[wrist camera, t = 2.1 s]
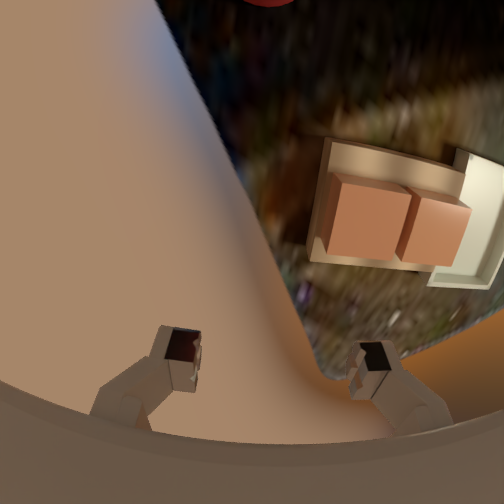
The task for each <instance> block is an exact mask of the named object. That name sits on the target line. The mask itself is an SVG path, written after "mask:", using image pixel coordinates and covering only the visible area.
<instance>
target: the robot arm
mask: <svg viewBox="0 0 504 504" xmlns="http://www.w3.org/2000/svg"><path fill="white" fill-rule="evenodd" d="M200 342H201V331H198V330H191V329H185V328H178V327H170V326H164V325H161V326H160V327H159V329H158V332H157V335H156V338H155V341H154V343H153V346H152V349H151V352H150V355H149V357H147V356H145V357H143V358H142V359H140V360H139V361H138V362H136V363H135V364H133V365H132V366H131V367H129V368H128V369H126V370H125V371H124V372H122V373H121V374H119V375H118V376H116V377H115V378H114V379H112V380H111V381H109V382H108V383H106V384H105V385H103V386H102V387H101V388H100V389H99V392H98V394H97V396H96V399H95V401H94V404H93V407H92V409H91V411H90V414H89V415H87V414H84V413H80V412H78V411H74V410H72V409H69V408H65V407H63V406H60V405H57V404H54V403H52V402H49V401H46V400H44V399H41V398H39V397H36V396H34V395H31V394H29V393H27V392H24V391H22V390H19V389H17V388H15V387H13V386H11V385H8V384H7V383H4V382H2V381H0V504H504V409H503V410H500V411H497V412H494V413H491V414H488V415H485V416H482V417H478V418H476V419H472V420H468V421H465V422H461V423H457V424H454V423H453V420H452V418H451V415H450V413H449V410H448V408H447V405H446V403H445V401H444V400H443V399H441V398H440V397H439V396H438V395H437V394H435V393H434V392H433V391H432V390H430V389H429V388H428V387H427V386H426V385H424V384H423V383H422V382H421V381H419V380H418V379H417V378H416V377H415V376H414V375H412V374H411V373H410V372H409V371H407V370H404V369H403V367H402V364H401V362H400V359H399V357H398V355H397V352H396V350H395V347H394V345H393V343H392V342H391V341H390V340H386V341H356V342H355V343H354V344H353V346H352V350H353V352H352V353H351V354H349V355H348V357H347V360H346V365H345V373H346V378H347V379H348V380H350V381H351V383H350V385H349V390H350V395H351V399H352V400H361V399H371V401H372V402H373V403H374V405H375V406H376V407H377V408H378V409H379V410H380V411H381V413H382V414H383V415H384V416H385V417H386V418H387V420H389V422H390V423H391V424H392V425H393V427H394V428H395V429H396V430H395V432H394V433H393V434H392V435H391V436H390V437H389V438H382V439H374V440H365V441H356V442H344V443H331V444H296V445H295V444H294V445H284V444H252V443H237V442H225V441H214V440H206V439H197V438H191V437H183V436H177V435H171V434H166V433H160V432H155V431H152V429H151V426H150V423H149V420H148V417H147V416H148V415H149V414H151V413H152V412H153V411H154V410H155V409H156V408H157V407H158V406H159V405H160V404H161V403H162V401H164V400H165V399H166V398H167V397H168V395H170V394H171V393H172V392H173V390H175V391H182V392H191V393H195V391H196V386H197V380H198V372H197V371H198V370H199V369H200V363H201V351H202V346H201V345H200Z"/></svg>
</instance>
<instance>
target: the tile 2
mask: <svg viewBox="0 0 504 504" xmlns="http://www.w3.org/2000/svg"><path fill="white" fill-rule="evenodd" d="M406 191H407V192H408V193H409V194H411V195H412V197H411V200H410V204H409V207H408V211H407V214H406V218H405V221H404V225H403V228H402V231H401V234H400V237H399V241H398V244H397V247H396V250H395V254H396V255H397V257H398V258H399V259H400V261H401V262H407V263H417V264H427V265H436V266H446V267H451V266H452V264H453V261H454V259H455V256H456V254H457V251H458V249H459V246H460V244H461V241H462V238H463V236H464V233H465V230H466V227H467V224H468V221H469V218H470V215H471V212H472V209H471V208H470V207H469V206H467V205H466V204H464V203H463V202H462V201H460V200H459V199H457V198H456V197H453V196H449V195H445V194H440V193H436V192H432V191H428V190H423V189H419V188H414V187H410V186H406Z"/></svg>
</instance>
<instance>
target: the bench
mask: <svg viewBox="0 0 504 504" xmlns="http://www.w3.org/2000/svg"><path fill="white" fill-rule="evenodd" d="M333 172H334V173H340V174H347V175H353V176H358V177H364V178H370V179H375V180H380V181H386V182H391V183H396V184H398V185H399V186H401V187H402V188H403V189H404V190H406V186H410V187H414V188H419V189H423V190H428V191H432V192H436V193H440V194H445V195H449V196H453V197H456V198H457V199H459V198H460V194H461V191H462V187H463V184H464V180H465V176H466V174H464V173H463V172H461V171H459V170H457V169H455V168H453V167H451V166H449V165H446V164H442V163H439V162H435V161H432V160H428V159H425V158H421V157H417V156H414V155H410V154H406V153H402V152H398V151H394V150H389V149H385V148H381V147H376V146H372V145H367V144H362V143H357V142H352V141H347V140H341V139H336V138H330V137H325V139H324V145H323V152H322V158H321V164H320V170H319V176H318V182H317V187H316V193H315V199H314V204H313V210H312V215H311V220H310V225H309V231H308V236H307V241H306V249H307V253H308V257H309V260H310V261H314V262H324V263H335V264H346V265H357V266H368V267H379V268H390V269H401V270H412V271H423V272H433V271H434V269H435V266H436V265H427V264H417V263H407V262H401V261H400V259H399V258H398V257H397V255H396V254H395V253H394V256H393V259H392V261H387V260H377V259H367V258H357V257H347V256H337V255H327V254H326V252H325V249H324V246H323V243H322V241H321V238H320V237H321V232H322V227H323V222H324V218H325V213H326V208H327V203H328V198H329V193H330V187H331V182H332V177H333Z"/></svg>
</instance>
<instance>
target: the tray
mask: <svg viewBox="0 0 504 504" xmlns="http://www.w3.org/2000/svg"><path fill="white" fill-rule="evenodd" d="M452 167H453V168H455V169H457V170H459V171H461V172H463V173H464V174H466V176H465V180H464V184H463V187H462V191H461V194H460V198H459V200H460V201H462V202H463V203H464V204H466V205H467V206H469V207H470V208H471V209H472V212H471V215H470V218H469V221H468V224H467V227H466V230H465V233H464V236H463V238H462V241H461V244H460V246H459V249H458V251H457V254H456V256H455V259H454V261H453V264H452V266H451V267H446V266H435V269H434V271H433V272H423V271H419V272H418V275H419V276H420V277H421V279H422V280H423V282H424V283H425V285H426V286H436V287H452V288H470V289H489V288H490V286H491V284H492V282H493V280H494V278H495V276H496V274H497V271H498V269H499V267H500V265H501V262H502V260H503V258H504V166H502V165H500V164H497V163H495V162H493V161H490V160H488V159H485V158H483V157H480V156H478V155H475V154H472V153H470V152H467V151H464V150H462V149H459V148H456V153H455V157H454V162H453V166H452Z"/></svg>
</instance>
